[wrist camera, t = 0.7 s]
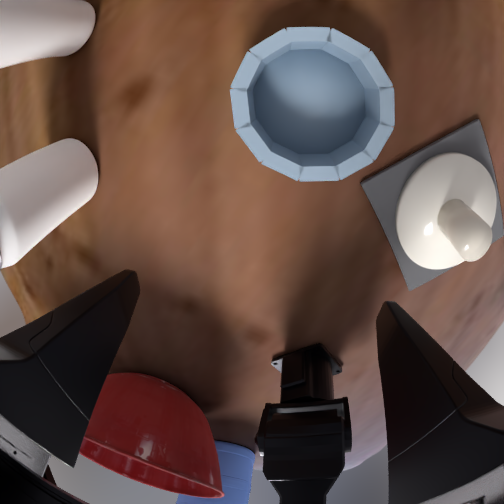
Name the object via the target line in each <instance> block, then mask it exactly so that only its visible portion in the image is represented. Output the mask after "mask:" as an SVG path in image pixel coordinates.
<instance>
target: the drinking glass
mask: <svg viewBox="0 0 504 504" xmlns="http://www.w3.org/2000/svg"><path fill="white" fill-rule="evenodd" d="M95 19H96V16H95V11H94V8H93V7H92V5H91V4H90V3H88V2H86V1H83V0H0V69H1V68H4V67H8V66H11V65H15V64H19V63H23V62H28V61H33V60H37V59H43V58H49V57H62V56H68V55H70V54H73V53H74V52H76V51H77V50H79V49H80V48H81V47H82V46H83V45H84V44H85V43H86V41H87V40H88V39H89V37H90V35H91V33H92V31H93V28H94V25H95Z"/></svg>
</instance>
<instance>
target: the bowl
mask: <svg viewBox="0 0 504 504" xmlns="http://www.w3.org/2000/svg"><path fill="white" fill-rule="evenodd" d="M249 50H250V51H251V53H250V52H248V51H247V53H246V55H245V57H244V59H243V61H242V63H241V65H240V67H239V70H238V72H237V74H236V76H235V78H234V80H233V82H232V84H231V88H234V89H230V94H231V102H232V111H233V119H234V127H235V128H238V129H237V130H236V132H237V133H238V134H239V136H240V137H241V138H242V140H243V141H244V142H245V143H246V145H247V146H248V147H249V149H250V150H251V151H252V153H253V154H254V155H255V157H256V158H257V159H258V161H259V162H261V161H262V164H263V165H265V166H267V167H269V168H271V169H274V170H276V171H278V172H280V173H282V174H284V175H286V176H288V177H290V178H292V179H294V180H296V181H298V179H299V180H300V182H301V181H339V178H340V180H342V179H344V178H346V177H347V176H349V175H351V174H353V173H354V172H356V171H358V170H360V169H362V168H363V167H365V166H367V165H369V164H371V163H372V162H373V160H372V159H374V160H376V158H377V156H378V155H379V153H380V151H381V150H382V148H383V146H384V145H385V143H386V141H387V140H388V138H389V136H390V134H391V133H392V131H393V129H394V128H393V127H391V126H395V109H394V88H391V86H393V84H392V83H391V81H390V79H389V77H388V76H387V74H386V72H385V71H384V69H383V67H382V66H381V64H380V63H379V61H378V59H377V58H376V56H375V55H374V53H373V52H372V51H370V52H369V50H370V49H369V48H368V47H366V46H364V45H363V44H361V43H359V42H357V41H356V40H354V39H352V38H350V37H348V36H347V35H345V34H343V33H341V32H339V31H337V30H335V29H333V28H332V29H331V30H330V27H287V31H286V29H285V28H284V29H282V30H280V31H279V32H277V33H275V34H273V35H272V36H270V37H268V38H267V39H265V40H263V41H262V42H260V43H259V44H257V45H255V46H254V47H252V48H251V49H249Z"/></svg>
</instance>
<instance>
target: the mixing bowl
mask: <svg viewBox="0 0 504 504" xmlns="http://www.w3.org/2000/svg"><path fill="white" fill-rule="evenodd" d="M79 453H80V454H81V455H83V456H85V457H86V458H88V459H90V460H92V461H93V462H95V463H97V464H99V465H101V466H103V467H105V468H107V469H110V470H112V471H114V472H116V473H118V474H120V475H123V476H125V477H128V478H130V479H133V480H135V481H138V482H141V483H144V484H147V485H149V486H153V487H156V488H160V489H163V490H166V491H170V492H174V493H179V494H184V495H189V496H195V497H203V498H221V497H223V496H224V495H225V494H224V492H223V491H222V481H221V473H220V466H219V460H218V454H217V450H216V446H215V442H214V438H213V435H212V432H211V429H210V426H209V423H208V421H207V419H206V417H205V415H204V413H203V412H202V410H201V409H200V408H199V407H198V406H197V405H196V404H195V403H194V401H192V400H191V399H190V398H189V397H188V396H187V395H186V394H185V393H184V392H183V391H181V390H180V389H178V388H177V387H175V386H173V385H171V384H169V383H168V382H165V381H163V380H161V379H158V378H156V377H152V376H149V375H145V374H141V373H113V374H110V375H107V377H106V379H105V382H104V384H103V387H102V389H101V392H100V394H99V397H98V400H97V402H96V405H95V407H94V410H93V413H92V415H91V418H90V421H89V424H88V427H87V430H86V433H85V436H84V438H83V441H82V444H81V447H80V451H79Z"/></svg>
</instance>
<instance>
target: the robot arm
mask: <svg viewBox="0 0 504 504" xmlns="http://www.w3.org/2000/svg"><path fill="white" fill-rule="evenodd" d="M139 294H140V286H139V281H138V277H137V273H136V272H135V271H133V270H124V271H122V272H120V273H118V274H116V275H114V276H113V277H111V278H109V279H107V280H105V281H103V282H102V283H100V284H98V285H96V286H94V287H92V288H91V289H89V290H87V291H85V292H83V293H82V294H80V295H78V296H76V297H75V298H73V299H71V300H69V301H68V302H66V303H64V304H62V305H61V306H59V307H57V308H55V309H54V310H52V311H50V312H49V313H47V314H45V315H43V316H42V317H40V318H38V319H36V320H34V321H33V322H31V323H29V324H27V325H25V326H23V327H21V328H19V329H17V330H15V331H13V332H11V333H9V334H7V335H5V336H3V337H1V338H0V504H89V503H87V502H85V501H83V500H81V499H79V498H77V497H75V496H73V495H71V494H70V493H68V492H66V491H64V490H62V489H61V488H59V487H57V485H56V483H55V480H54V478H53V475H52V473H51V470H50V467H49V465H48V462H49V459H50V457H51V456H53V457H54V458H56V459H57V460H59V461H61V462H63V463H65V464H66V465H68V466H70V467H72V468H74V466H75V463H76V460H77V457H78V454H79V451H80V447H81V444H82V441H83V438H84V436H85V433H86V430H87V427H88V424H89V421H90V418H91V415H92V413H93V410H94V407H95V405H96V402H97V400H98V397H99V394H100V392H101V389H102V387H103V384H104V382H105V379H106V377H107V375H108V372H109V370H110V367H111V365H112V363H113V360H114V358H115V356H116V353H117V351H118V349H119V347H120V344H121V342H122V340H123V338H124V335H125V333H126V331H127V329H128V326H129V323H130V320H131V317H132V315H133V312H134V309H135V306H136V303H137V300H138V297H139ZM376 330H377V347H378V361H379V368H380V375H381V383H382V391H383V399H384V408H385V418H386V430H387V445H388V461H389V462H388V471H389V504H504V406H502V405H501V404H499V403H498V402H496V401H495V400H494V399H493V398H492V397H491V396H490V395H489V394H488V393H487V392H486V391H485V390H484V389H483V388H481V387H480V386H479V385H478V384H477V383H476V382H475V381H474V380H473V379H472V378H471V377H470V376H469V375H468V374H467V373H466V372H465V371H464V370H463V369H462V368H461V367H460V366H459V365H458V364H457V363H456V362H455V361H453V358H452V357H451V356H450V355H449V354H448V353H447V352H446V351H445V350H444V349H443V348H442V347H441V346H440V345H439V344H438V343H437V342H436V341H435V340H434V339H433V338H432V337H431V336H430V335H429V334H428V333H427V332H426V331H425V330H424V329H423V328H422V327H421V326H420V325H419V324H418V323H417V322H416V321H415V320H414V319H413V318H412V317H411V316H410V315H409V314H408V313H407V312H406V311H405V310H404V309H403V308H401V307H400V306H399V305H398V304H397V303H396V302H394V301H385V302H384V303H383V305H382V307H381V310H380V312H379V314H378V316H377V319H376ZM271 364H272V365H273V366H274V367H275V368H276V369H277V370H278V371H279V372H281V385H280V387H281V398H280V403H277V404H271V403H266V404H265V409H263V413H262V417H261V421H260V426H259V430H258V432H257V435H256V437H255V443H256V444H257V445H258V448H259V453H260V456H261V457H263V473H264V475H265V477H266V479H267V480H268V481H270V482H271V483H272V485H273V487H274V488H275V490H276V491H277V493H278V494H279V496H280V504H326V495H327V493H328V492H329V490H330V489H331V487H332V486H333V484H334V483H335V481H336V480H337V478H338V476H339V475H340V473H341V472H342V470H343V468H344V466H345V453H346V452H351V447H352V431H351V420H350V412H349V404H348V397H342V398H340V399H334V388H333V375H336V374H339V373H341V372H342V367H341V366H340V365H339V364H338V363H337V362H336V360H335V359H334V358H333V357H332V356H331V354H330V353H329V352H328V351H327V350H326V348H325V347H324V346H323V345H322V344H320V343H318V344H314V345H312V346H309V347H306V348H304V349H301V350H298V351H295V352H293V353H290V354H287V355H284V356H281V357H278V358H275V359H273V360H272V362H271Z"/></svg>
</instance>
